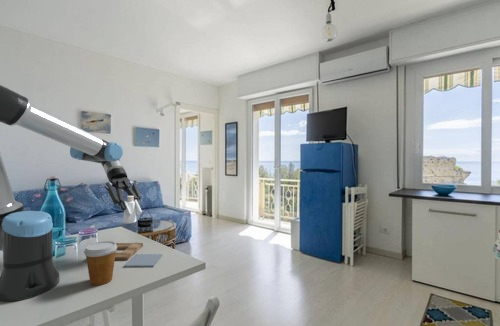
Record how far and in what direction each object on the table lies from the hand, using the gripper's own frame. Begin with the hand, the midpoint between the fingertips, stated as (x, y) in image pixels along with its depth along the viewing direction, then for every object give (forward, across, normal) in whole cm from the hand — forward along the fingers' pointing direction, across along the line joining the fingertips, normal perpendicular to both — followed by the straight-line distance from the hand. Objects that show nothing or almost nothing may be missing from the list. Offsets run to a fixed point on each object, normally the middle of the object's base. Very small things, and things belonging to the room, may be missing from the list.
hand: (134, 214), depth 105 cm
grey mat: (+18, 0, -6) cm, 19 cm away
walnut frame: (+6, +2, -19) cm, 20 cm away
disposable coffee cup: (+21, +18, -4) cm, 28 cm away
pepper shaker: (0, 0, -6) cm, 6 cm away
